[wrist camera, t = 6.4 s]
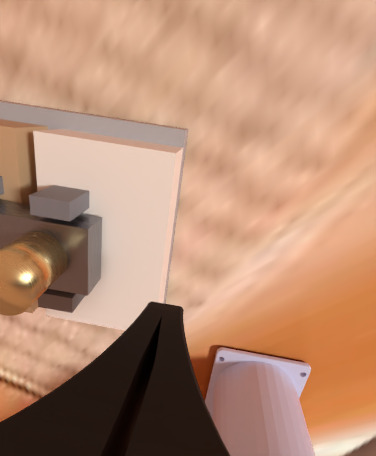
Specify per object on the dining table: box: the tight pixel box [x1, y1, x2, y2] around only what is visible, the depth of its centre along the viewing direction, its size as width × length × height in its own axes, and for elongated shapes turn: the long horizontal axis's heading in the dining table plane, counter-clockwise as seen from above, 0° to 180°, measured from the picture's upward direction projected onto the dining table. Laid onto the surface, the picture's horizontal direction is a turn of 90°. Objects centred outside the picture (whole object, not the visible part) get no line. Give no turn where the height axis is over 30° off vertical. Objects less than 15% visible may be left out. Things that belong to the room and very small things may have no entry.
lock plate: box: [0, 100, 188, 331], centre depth 18 cm, size 14×16×7 cm
